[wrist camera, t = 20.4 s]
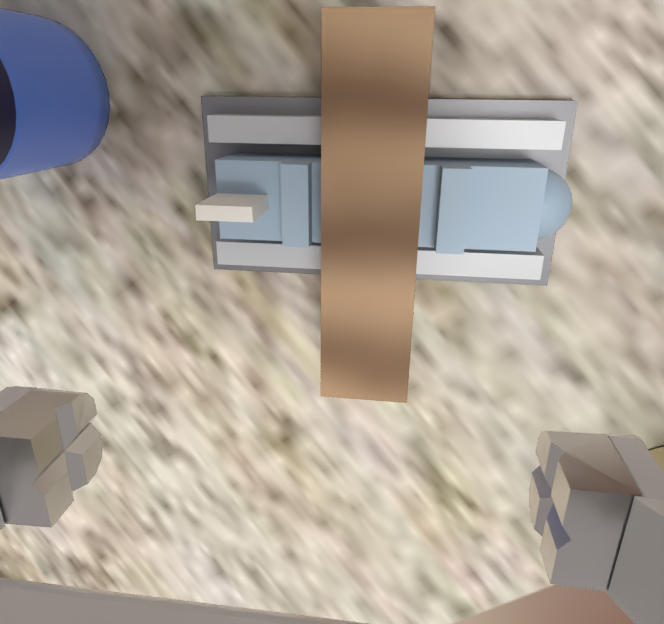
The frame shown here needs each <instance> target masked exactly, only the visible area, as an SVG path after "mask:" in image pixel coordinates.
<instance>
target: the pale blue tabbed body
mask: <svg viewBox="0 0 664 624" xmlns="http://www.w3.org/2000/svg"><path fill="white" fill-rule="evenodd" d="M548 169H549V168H547V167H545V166H544V165H542V164H540V163H538V162H536V161H534V160H533V159H492V158H450V157H424V170H423V184H422V198H421V212H420V226H419V239H418V247H434V248H435V252H436V253H438V254H461V255H464V249H480V250H504V251H527V252H536V246H537V240H538V239H541V238H545V237H547V236H550V235H551V234H553V233H555V232H556V231H558V230H559V229H560V228H561V227H562V226H563V225H564V223H565V222H566V221H567V219H568V217H569V215H570V212H571V208H572V194H571V191H570V188H569V186H568V184H567V183H566V181H565V180H564V179H563V178H562V177H561V176H560V175H558V174H557V173H555V172H553V171H551V170H548ZM215 170H216V184H217V194H215V195H213V196H211V197H209V198H207V199H205V200H203V201H202V202H200V203H198V204H196V205H195V210H196V220H200V221H219V226H220V238H223V239H246V240H269V241H282V247H302V248H309V247H310V245H311V243H312V242H316V243H321V154H280V153H238V152H236V153H233V154H230V155H227V156H224V157H221V158H219V159H216V160H215Z"/></svg>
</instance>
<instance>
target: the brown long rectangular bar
mask: <svg viewBox="0 0 664 624" xmlns="http://www.w3.org/2000/svg"><path fill="white" fill-rule="evenodd" d="M434 16H435V6H409V7H322V19H321V396H324V397H337V398H350V399H363V400H376V401H390V402H403V403H407V393H408V379H409V365H410V351H411V337H412V323H413V309H414V295H415V281H416V267H417V253H418V239H419V226H420V212H421V198H422V184H423V170H424V156H425V142H426V128H427V114H428V100H429V86H430V72H431V58H432V44H433V30H434Z"/></svg>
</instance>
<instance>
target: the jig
mask: <svg viewBox="0 0 664 624" xmlns="http://www.w3.org/2000/svg"><path fill="white" fill-rule="evenodd" d="M201 102H202V115H203V129H204V142H205V155H206V168H207V181H208V195H209V197H211V196H213V195H215V194H217V184H216V170H215V160H216V159H219V158H221V157H224V156H227V155H230V154H233V153H236V152H238V153H280V154H321V98H318V97H233V96H201ZM577 105H578V101H570V100H486V99H429V100H428V114H427V128H426V142H425V156H424V157H450V158H492V159H533V160H534V161H536V162H538V163H540V164H542V165H544V166H545V167H547V168H549V169H548V170H551V171H553V172H555V173H557V174H558V175H560V176H561V177H562V178H563V179H564V180H565V176H566V171H567V165H568V159H569V153H570V147H571V141H572V135H573V129H574V123H575V117H576V111H577ZM211 234H212V247H213V261H214V269H225V270H245V271H265V272H285V273H305V274H321V243H316V242H312V243H311V245H310V247H309V248H302V247H282V241H269V240H246V239H223V238H220V226H219V221H211ZM555 236H556V232H555V233H553V234H551V235H550V236H547V237H545V238H541V239H538V240H537V246H536V252H527V251H504V250H480V249H464V255H461V254H438V253H436V252H435V248H434V247H418V253H417V267H416V279H425V280H445V281H465V282H485V283H505V284H525V285H545V286H547V283H548V277H549V271H550V265H551V259H552V254H553V248H554V242H555Z"/></svg>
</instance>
